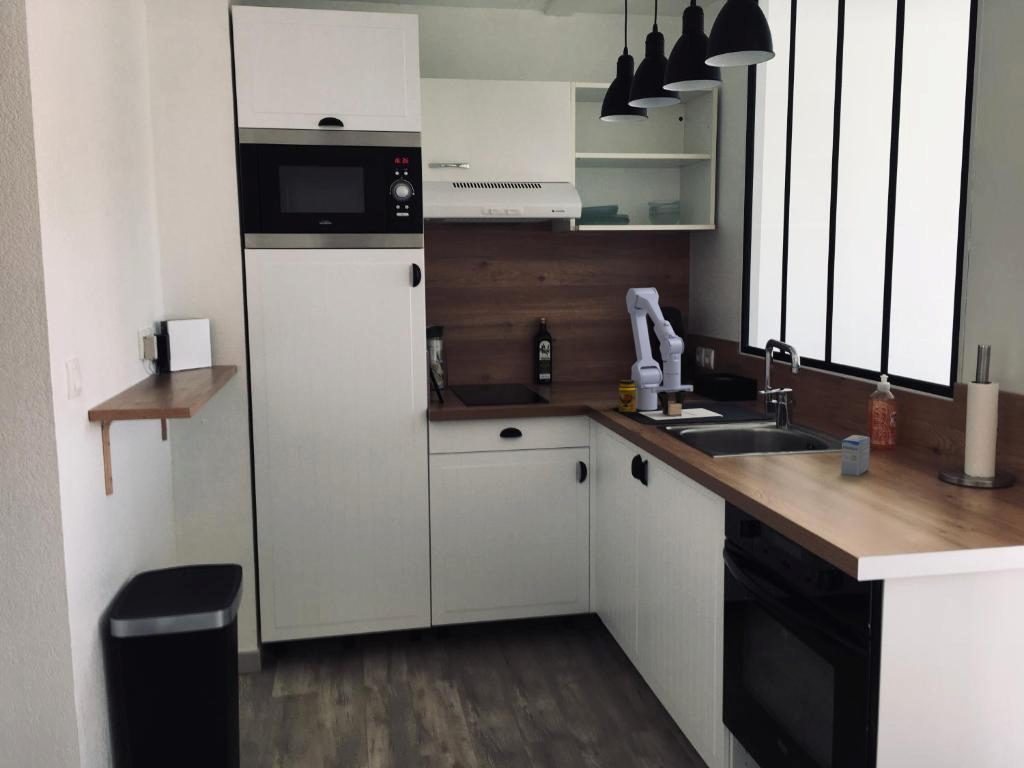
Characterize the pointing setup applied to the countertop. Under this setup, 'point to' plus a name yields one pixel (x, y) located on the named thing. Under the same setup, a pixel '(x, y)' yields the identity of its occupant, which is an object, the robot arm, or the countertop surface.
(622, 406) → the condiment
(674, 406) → the cork block
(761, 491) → the countertop surface
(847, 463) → the medicine box
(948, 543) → the countertop surface
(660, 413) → the board
